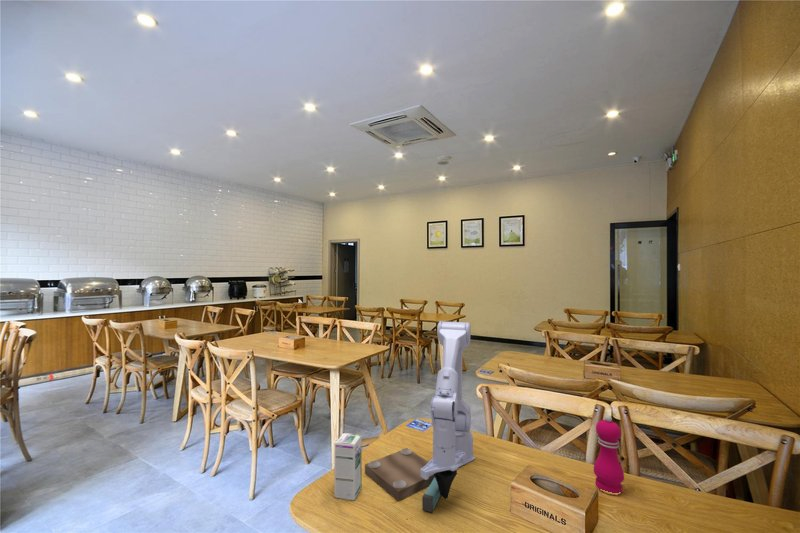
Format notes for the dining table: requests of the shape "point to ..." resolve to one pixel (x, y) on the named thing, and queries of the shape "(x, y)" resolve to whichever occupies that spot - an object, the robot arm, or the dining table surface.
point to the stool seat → (399, 473)
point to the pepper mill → (608, 457)
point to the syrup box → (348, 466)
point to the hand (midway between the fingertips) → (443, 496)
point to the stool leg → (430, 497)
